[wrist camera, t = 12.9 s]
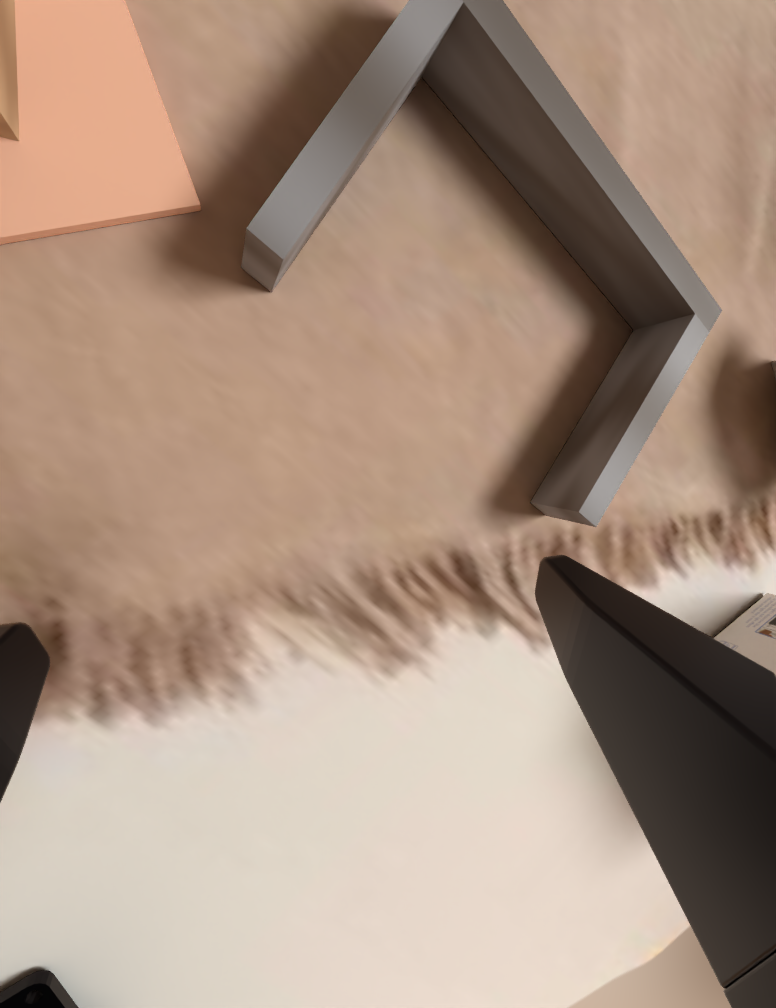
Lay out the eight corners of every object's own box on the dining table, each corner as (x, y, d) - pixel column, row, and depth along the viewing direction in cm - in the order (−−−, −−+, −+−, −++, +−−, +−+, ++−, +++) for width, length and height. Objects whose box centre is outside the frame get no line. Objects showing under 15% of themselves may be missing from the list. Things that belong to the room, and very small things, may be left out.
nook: (546, 515, 21) (596, 526, 18) (241, 267, 15) (246, 228, 12) (658, 326, 22) (722, 310, 19) (414, 22, 16) (456, -66, 13)
